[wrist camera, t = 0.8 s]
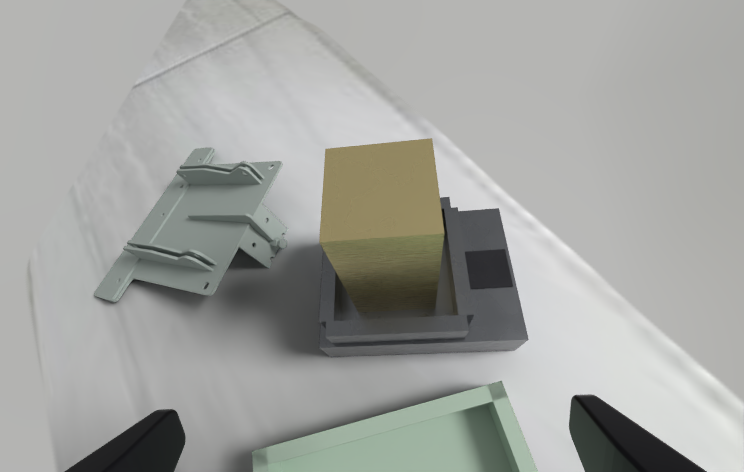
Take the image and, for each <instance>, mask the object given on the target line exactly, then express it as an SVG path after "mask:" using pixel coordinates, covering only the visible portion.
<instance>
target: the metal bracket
mask: <svg viewBox="0 0 744 472" xmlns="http://www.w3.org/2000/svg"><path fill="white" fill-rule="evenodd" d="M215 152H216V151H215V150H214V149H212V148H200V149H195V150H194V151H193V152H192V153H191V155H190V156H189V157H188V159H187V160H186V162H185V163H184V165H181V166H180V169H179V170H177V175H176V176H175V178H174V179H173V181H172V182H171V184H170V185H169V186H168V188H167V189H166V191H165V192H164V194H163V195H162V196H161V198H160V199H159V201H158V202H157V204H156V205H155V207H154V208H153V209H152V211H151V212H150V214H149V215H148V217H147V218H146V220H145V221H144V222H143V224H142V225H141V227H140V228H139V230H138V231H137V233H136V234H135V235H134V237H133V238H132V240H131V241H128V242H127V244H128V245H127V246H124V248H123V249H124V251H123V253H122V254H121V256H120V257H119V258H118V260H117V261H116V262H115V264H114V265H113V267H112V268H111V270H110V271H109V273H108V274H107V275H106V277H105V278H104V280H103V281H102V283H101V284H100V285H99V287H98V289H97V290H96V292H95V293H94V295H95V296H96V297H99V298H102V299H105V300H109V301H112V302H117V301H118V300H119V299H120V297H121V296H122V294H123V293H124V291H125V290H126V288H127V287H128V285H129V284H130V282H131V281H132V280H134V279H137V280H141V281H145V282H150V283H154V284H158V285H163V286H167V287H171V288H175V289H180V290H184V291H188V292H193V293H197V294H201V295H206V296H211V295H213V294H214V293H215V291H216V289H217V287H218V285H219V283H220V282H221V280H222V278H223V276H224V274H225V272H226V270H227V269H228V267H229V265H230V263H231V261H232V259H233V257H234V255H235V254H236V252H237V250H238V248H240V249H241V250H243V251H244V252H246V253H247V254H248V255H250V256H251V257H252V258H254V259H255V260H257V261H258V262H259V263H261V264H262V265H264V266H265V267H266V268H269V267H270V265H271V263H272V261H271V260H270V258H271V257H273V258H274V257H275V255H276V253H277V251H278V249H280V248H281V249H284V248H285V247H286V246H287V240H285V239H284V237H282V233H283V234H286V232H287V230H288V227H287V226H286V225H284V224H283V223H282V222H281V221H280V220H279V219H278V218H277V217H276V216H275V215H274V214H273V213H272V212H271V211H269V210H268V209H267V208H266V207H265V206H264V205H263V204H262V203H263V201H264V199H265V197H266V196H267V194H268V192H269V190H270V188H271V186H272V184H273V182H274V181H275V179H276V177H277V175H278V173H279V171H280V169H281V168H282V165H283V164H282V162H280V161H273V162H255V163H248V162H245V161H242V162H241V163H236V164H218V165H215V164H209V162H210V160H211V158H212V157H213V155H214V154H215ZM272 166H274V167H273V168H272V169H271V170H270V168H271V167H272ZM265 219H267V222H265ZM253 243H254V244H255V245H254V247H252V244H253ZM208 283H209V285H208V287H207V288H206V289H204V287H205V285H206V284H208Z"/></svg>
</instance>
